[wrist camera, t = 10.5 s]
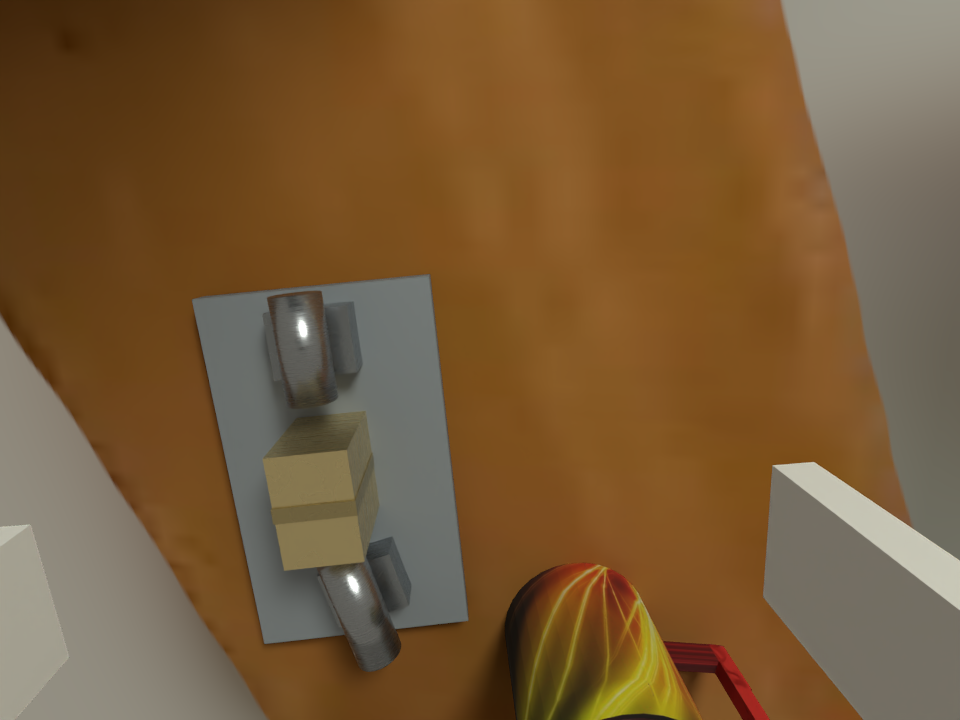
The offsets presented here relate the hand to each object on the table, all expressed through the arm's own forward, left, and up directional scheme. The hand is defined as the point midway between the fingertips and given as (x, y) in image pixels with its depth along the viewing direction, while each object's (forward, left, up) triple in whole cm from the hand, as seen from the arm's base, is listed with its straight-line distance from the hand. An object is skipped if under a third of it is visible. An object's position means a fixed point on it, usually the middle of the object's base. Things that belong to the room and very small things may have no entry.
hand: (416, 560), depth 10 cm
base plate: (+8, -7, -24) cm, 26 cm away
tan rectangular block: (+7, -7, -22) cm, 24 cm away
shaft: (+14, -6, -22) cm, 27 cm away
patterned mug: (+21, +9, -24) cm, 33 cm away
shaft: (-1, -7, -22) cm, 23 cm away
